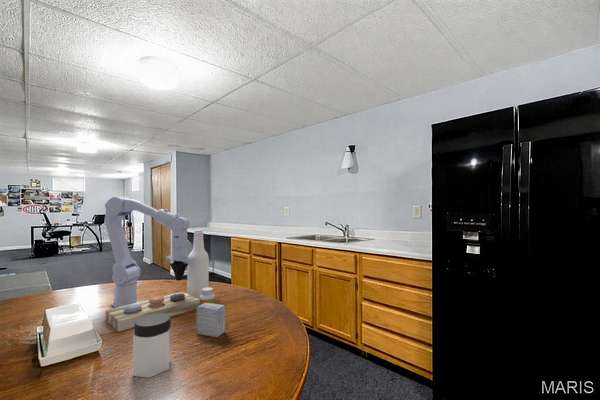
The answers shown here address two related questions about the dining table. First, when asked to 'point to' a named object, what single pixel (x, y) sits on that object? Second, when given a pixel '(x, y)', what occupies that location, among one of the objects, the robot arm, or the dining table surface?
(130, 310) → the slate-blue plug
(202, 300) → the supplement bottle
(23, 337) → the dining table surface
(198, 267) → the alcohol
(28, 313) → the dining table surface
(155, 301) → the terracotta plug
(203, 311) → the medicine box
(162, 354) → the jar
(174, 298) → the charcoal plug
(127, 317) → the panel
